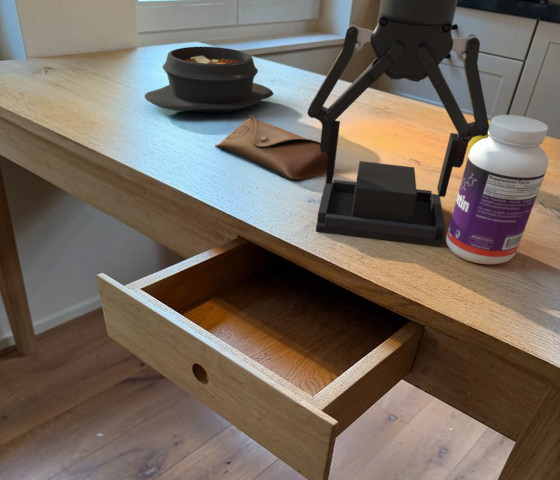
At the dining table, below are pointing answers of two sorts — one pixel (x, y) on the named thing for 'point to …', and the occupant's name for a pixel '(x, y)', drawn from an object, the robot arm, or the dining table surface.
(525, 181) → the pill bottle
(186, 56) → the casserole
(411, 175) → the black block
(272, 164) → the sunglasses case
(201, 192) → the dining table surface
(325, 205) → the base pad
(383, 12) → the robot arm
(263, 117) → the dining table surface
